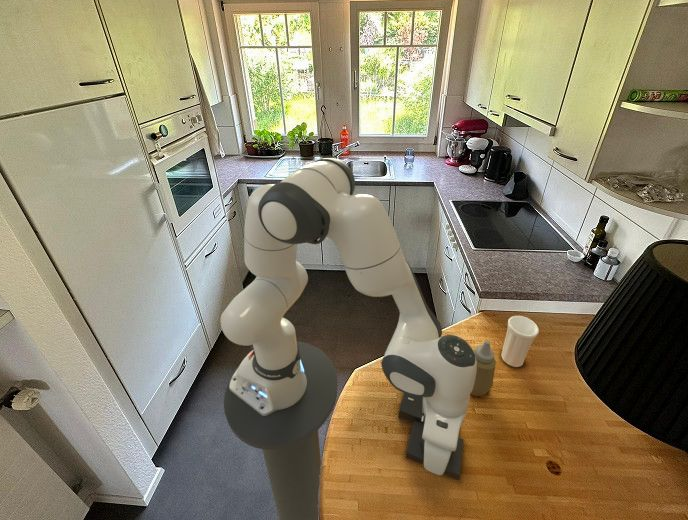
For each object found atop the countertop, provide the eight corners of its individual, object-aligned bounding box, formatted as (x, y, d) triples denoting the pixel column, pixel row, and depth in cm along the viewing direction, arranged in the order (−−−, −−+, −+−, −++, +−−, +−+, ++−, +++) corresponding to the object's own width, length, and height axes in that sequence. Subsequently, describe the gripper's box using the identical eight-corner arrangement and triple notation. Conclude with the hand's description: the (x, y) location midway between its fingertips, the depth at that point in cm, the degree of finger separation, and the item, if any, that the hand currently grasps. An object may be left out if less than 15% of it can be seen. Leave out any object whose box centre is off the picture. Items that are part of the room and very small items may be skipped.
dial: (428, 414, 81) (429, 406, 80) (422, 413, 82) (423, 405, 80) (428, 396, 86) (429, 388, 84) (422, 395, 86) (424, 387, 84)
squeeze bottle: (459, 395, 89) (471, 350, 81) (460, 371, 96) (470, 327, 87) (491, 404, 87) (506, 358, 78) (489, 378, 94) (502, 334, 85)
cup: (528, 373, 95) (541, 339, 88) (498, 366, 97) (509, 332, 90) (524, 352, 102) (536, 318, 95) (496, 345, 104) (506, 312, 97)
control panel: (397, 419, 83) (398, 412, 82) (406, 388, 91) (407, 381, 89) (445, 437, 79) (446, 430, 78) (449, 404, 87) (451, 396, 85)
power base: (405, 457, 76) (406, 448, 74) (413, 425, 82) (414, 415, 80) (458, 480, 72) (461, 471, 70) (461, 444, 78) (464, 434, 76)
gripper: (438, 357, 77) (431, 393, 84) (420, 442, 61) (414, 479, 67) (465, 366, 75) (456, 402, 82) (455, 456, 58) (445, 493, 65)
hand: (437, 438), depth 74 cm, fingers closed
